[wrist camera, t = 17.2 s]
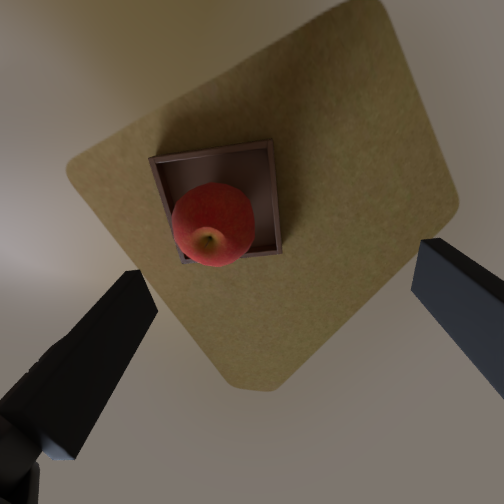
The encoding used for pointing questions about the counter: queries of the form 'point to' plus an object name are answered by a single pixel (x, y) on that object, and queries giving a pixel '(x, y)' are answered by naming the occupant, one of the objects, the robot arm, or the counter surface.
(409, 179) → the counter surface
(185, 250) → the apple
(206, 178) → the tray
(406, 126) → the counter surface
